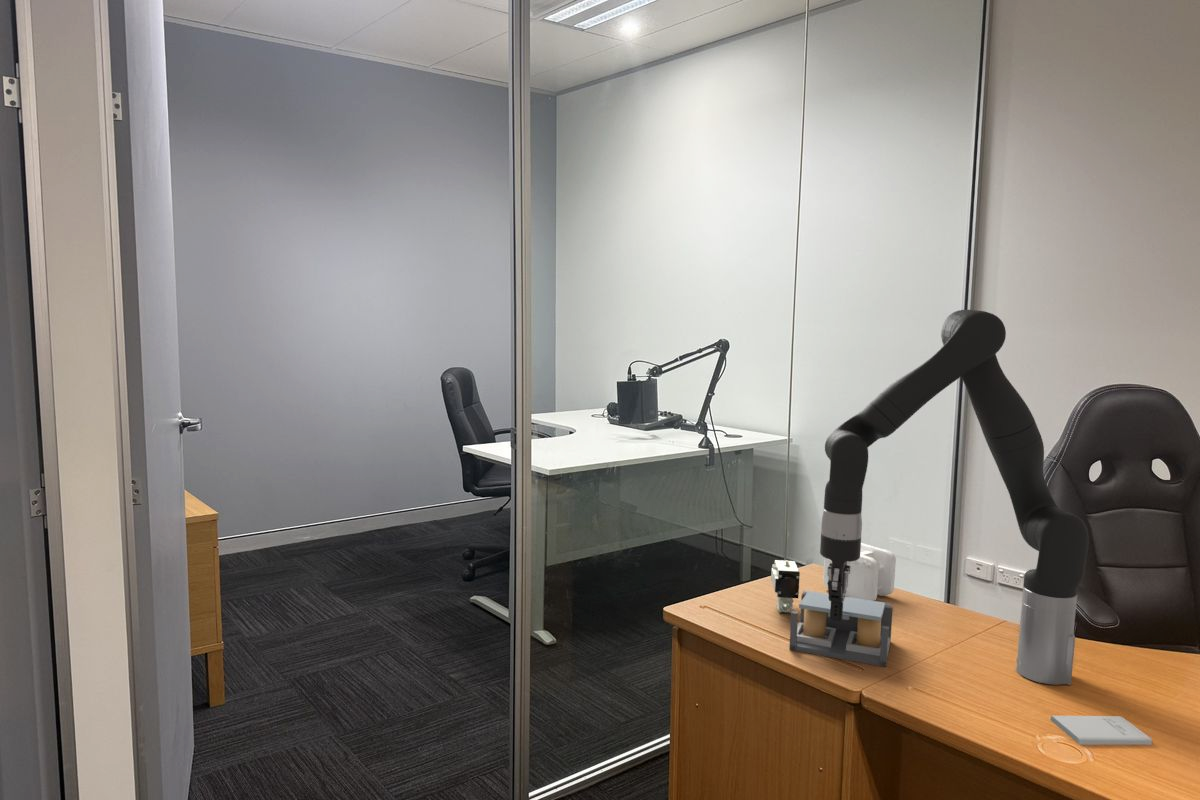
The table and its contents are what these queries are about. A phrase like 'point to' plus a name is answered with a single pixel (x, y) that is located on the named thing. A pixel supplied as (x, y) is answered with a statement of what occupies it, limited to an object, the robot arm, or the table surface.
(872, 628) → the beige rounded cylinder
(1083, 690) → the table surface
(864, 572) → the cable organizer
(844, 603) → the lid
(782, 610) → the pneumatic valve
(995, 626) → the table surface
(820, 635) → the housing
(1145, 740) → the external hard drive
